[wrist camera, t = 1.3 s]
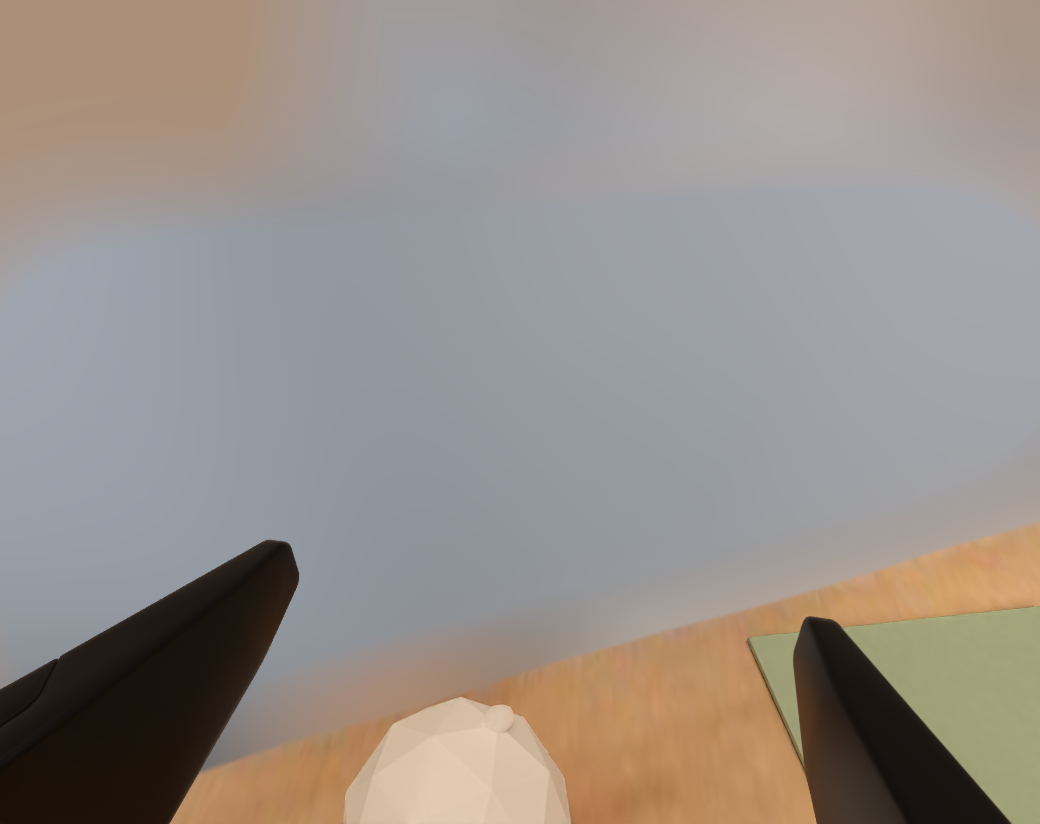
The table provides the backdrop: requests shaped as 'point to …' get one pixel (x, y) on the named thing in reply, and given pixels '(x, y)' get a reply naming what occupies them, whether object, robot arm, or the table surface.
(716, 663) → the table surface
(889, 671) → the mat
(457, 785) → the ornament
